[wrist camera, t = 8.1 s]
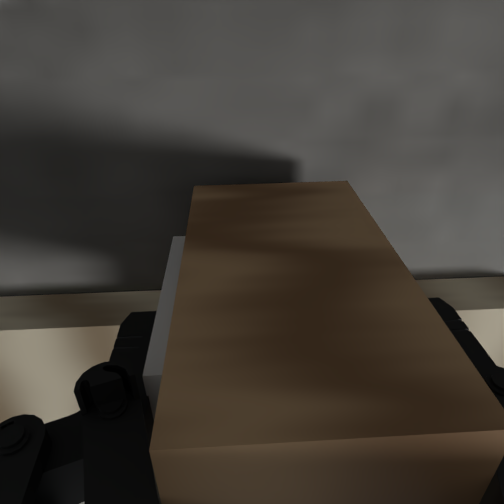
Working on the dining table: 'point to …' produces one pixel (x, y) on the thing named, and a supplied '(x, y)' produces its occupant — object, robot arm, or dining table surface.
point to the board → (123, 303)
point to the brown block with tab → (312, 363)
